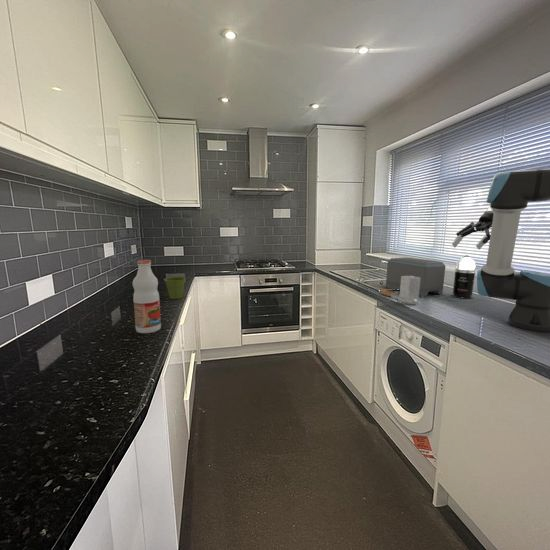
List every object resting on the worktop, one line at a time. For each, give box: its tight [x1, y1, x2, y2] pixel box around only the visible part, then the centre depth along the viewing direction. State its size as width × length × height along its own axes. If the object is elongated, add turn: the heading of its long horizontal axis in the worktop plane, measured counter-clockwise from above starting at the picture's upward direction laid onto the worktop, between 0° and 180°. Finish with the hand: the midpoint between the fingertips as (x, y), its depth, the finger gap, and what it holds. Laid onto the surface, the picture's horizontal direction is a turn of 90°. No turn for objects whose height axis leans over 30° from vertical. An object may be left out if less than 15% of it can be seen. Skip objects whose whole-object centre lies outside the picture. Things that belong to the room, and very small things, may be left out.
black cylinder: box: [452, 254, 477, 299], centre depth 175 cm, size 10×10×25 cm
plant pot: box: [163, 276, 187, 300], centre depth 167 cm, size 12×12×11 cm
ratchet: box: [380, 288, 419, 306], centre depth 169 cm, size 27×10×8 cm, turn 15°
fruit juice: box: [132, 259, 162, 334], centre depth 115 cm, size 9×9×28 cm
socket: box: [399, 276, 421, 301], centre depth 160 cm, size 7×7×12 cm
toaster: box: [385, 256, 446, 298], centre depth 192 cm, size 19×33×20 cm, turn 26°
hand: (465, 246), depth 150 cm, fingers open, 13 cm apart
